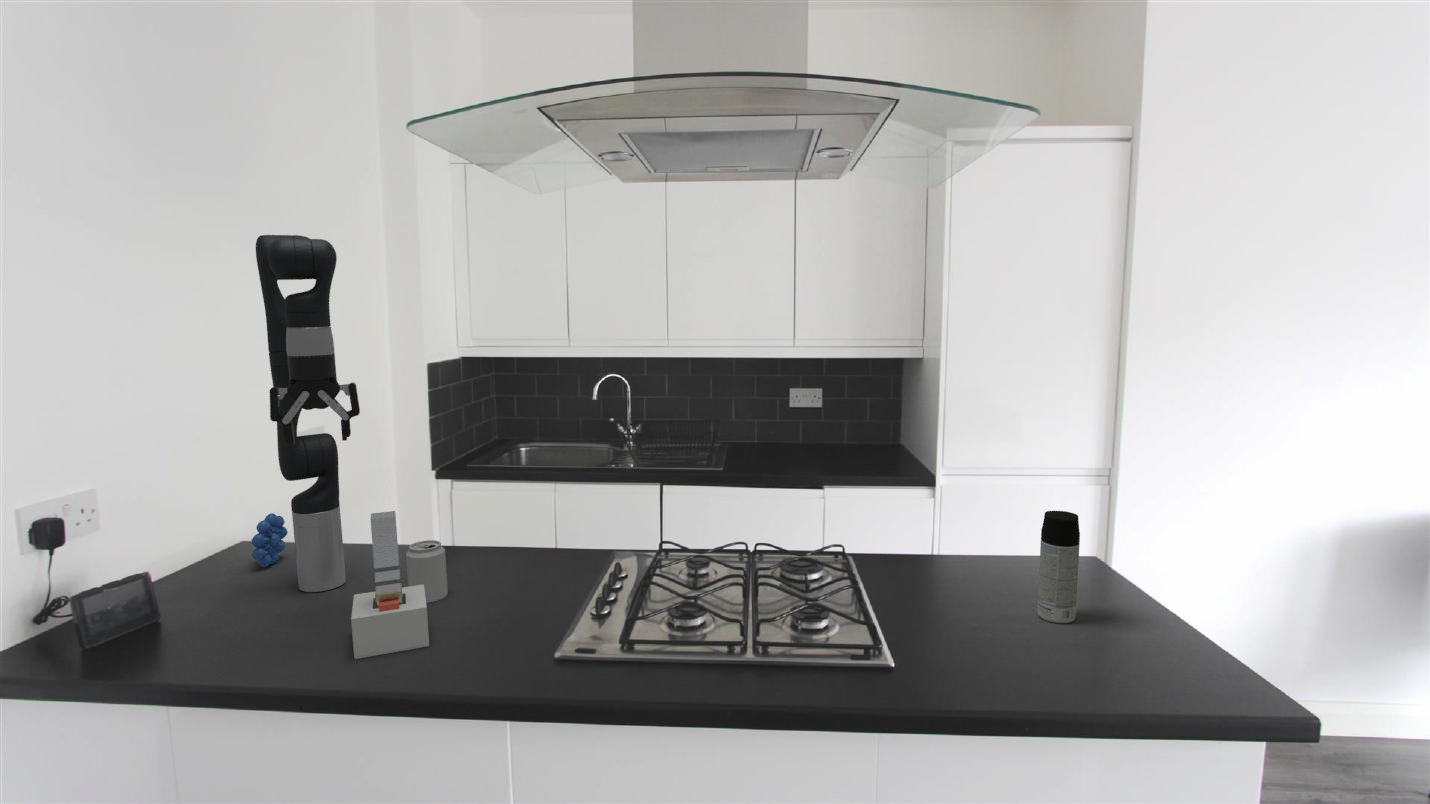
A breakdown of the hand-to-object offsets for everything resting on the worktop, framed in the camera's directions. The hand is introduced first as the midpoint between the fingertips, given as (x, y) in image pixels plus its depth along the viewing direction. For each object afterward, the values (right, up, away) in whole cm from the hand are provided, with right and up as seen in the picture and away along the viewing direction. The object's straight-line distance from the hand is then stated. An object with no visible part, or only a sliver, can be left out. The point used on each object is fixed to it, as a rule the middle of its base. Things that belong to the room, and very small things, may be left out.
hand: (318, 442), depth 140 cm
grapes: (-34, -31, +43) cm, 63 cm away
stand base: (+14, -36, -1) cm, 39 cm away
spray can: (+136, -34, +6) cm, 141 cm away
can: (+13, -34, +20) cm, 41 cm away
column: (+14, -29, -2) cm, 32 cm away
